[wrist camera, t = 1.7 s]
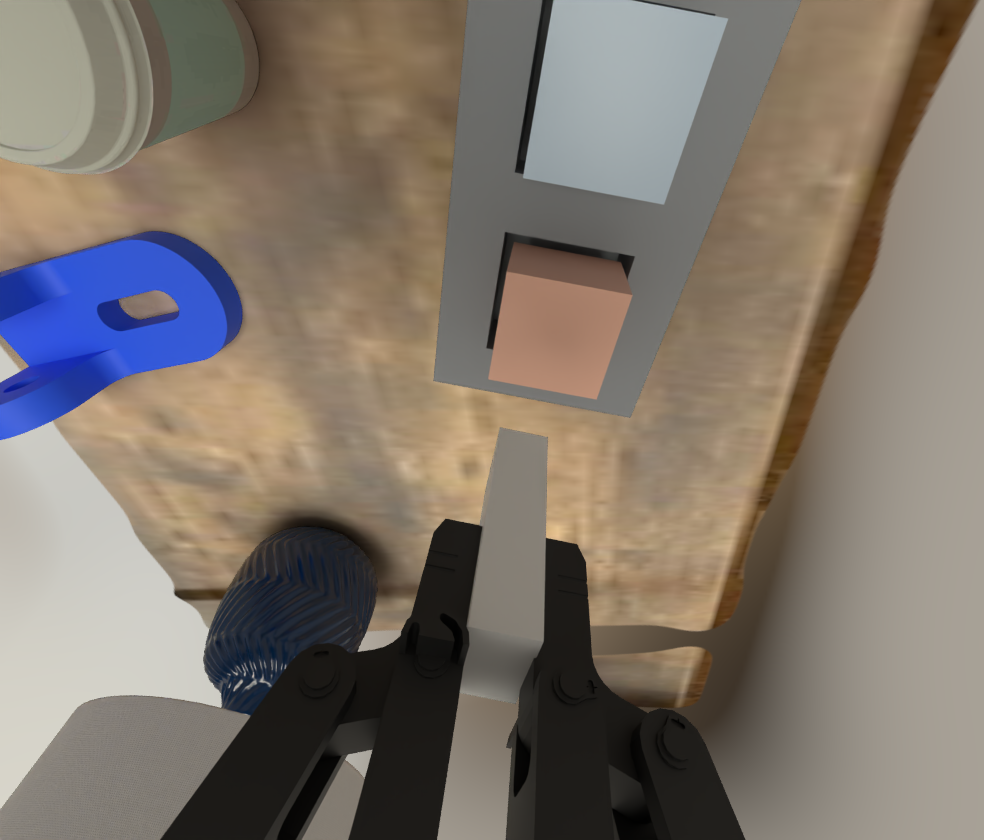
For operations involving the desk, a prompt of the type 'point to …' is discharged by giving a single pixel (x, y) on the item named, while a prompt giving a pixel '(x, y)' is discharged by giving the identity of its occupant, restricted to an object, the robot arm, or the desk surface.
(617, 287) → the terracotta key
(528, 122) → the grey socket block
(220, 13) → the coffee cup
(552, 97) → the slate key
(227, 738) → the lamp
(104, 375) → the bracket
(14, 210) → the desk surface
